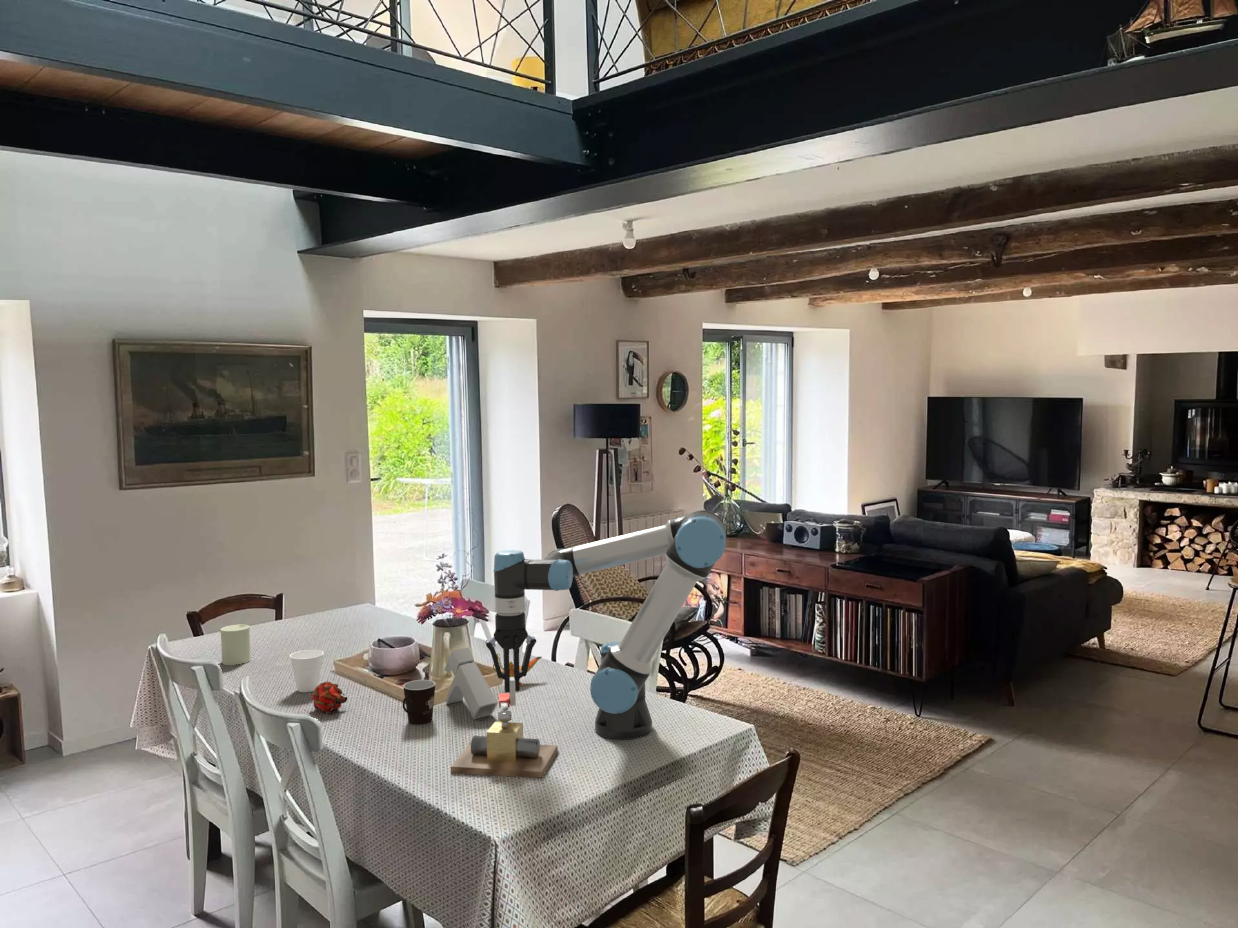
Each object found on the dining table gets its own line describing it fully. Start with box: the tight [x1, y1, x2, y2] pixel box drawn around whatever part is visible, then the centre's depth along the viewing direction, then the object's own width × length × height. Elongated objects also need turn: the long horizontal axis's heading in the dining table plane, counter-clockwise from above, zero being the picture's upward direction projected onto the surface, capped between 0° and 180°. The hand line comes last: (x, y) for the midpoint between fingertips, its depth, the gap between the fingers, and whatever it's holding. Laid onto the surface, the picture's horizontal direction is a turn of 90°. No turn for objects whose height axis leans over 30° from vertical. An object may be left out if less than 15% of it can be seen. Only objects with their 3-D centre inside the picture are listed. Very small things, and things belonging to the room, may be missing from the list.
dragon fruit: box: [310, 681, 348, 714], centre depth 258 cm, size 8×8×12 cm
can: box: [219, 623, 252, 666], centre depth 307 cm, size 9×9×12 cm
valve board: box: [450, 742, 558, 779], centre depth 220 cm, size 22×16×2 cm
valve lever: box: [497, 692, 513, 722], centre depth 226 cm, size 16×3×2 cm, turn 8°
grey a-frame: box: [444, 647, 499, 720], centre depth 258 cm, size 6×16×20 cm
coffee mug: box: [402, 679, 437, 726], centre depth 248 cm, size 12×9×10 cm
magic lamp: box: [492, 653, 543, 687], centre depth 280 cm, size 7×18×11 cm, turn 130°
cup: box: [288, 649, 325, 693], centre depth 276 cm, size 10×10×11 cm
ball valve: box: [470, 721, 541, 762], centre depth 220 cm, size 16×7×9 cm, turn 81°
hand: (512, 703), depth 231 cm, fingers closed
